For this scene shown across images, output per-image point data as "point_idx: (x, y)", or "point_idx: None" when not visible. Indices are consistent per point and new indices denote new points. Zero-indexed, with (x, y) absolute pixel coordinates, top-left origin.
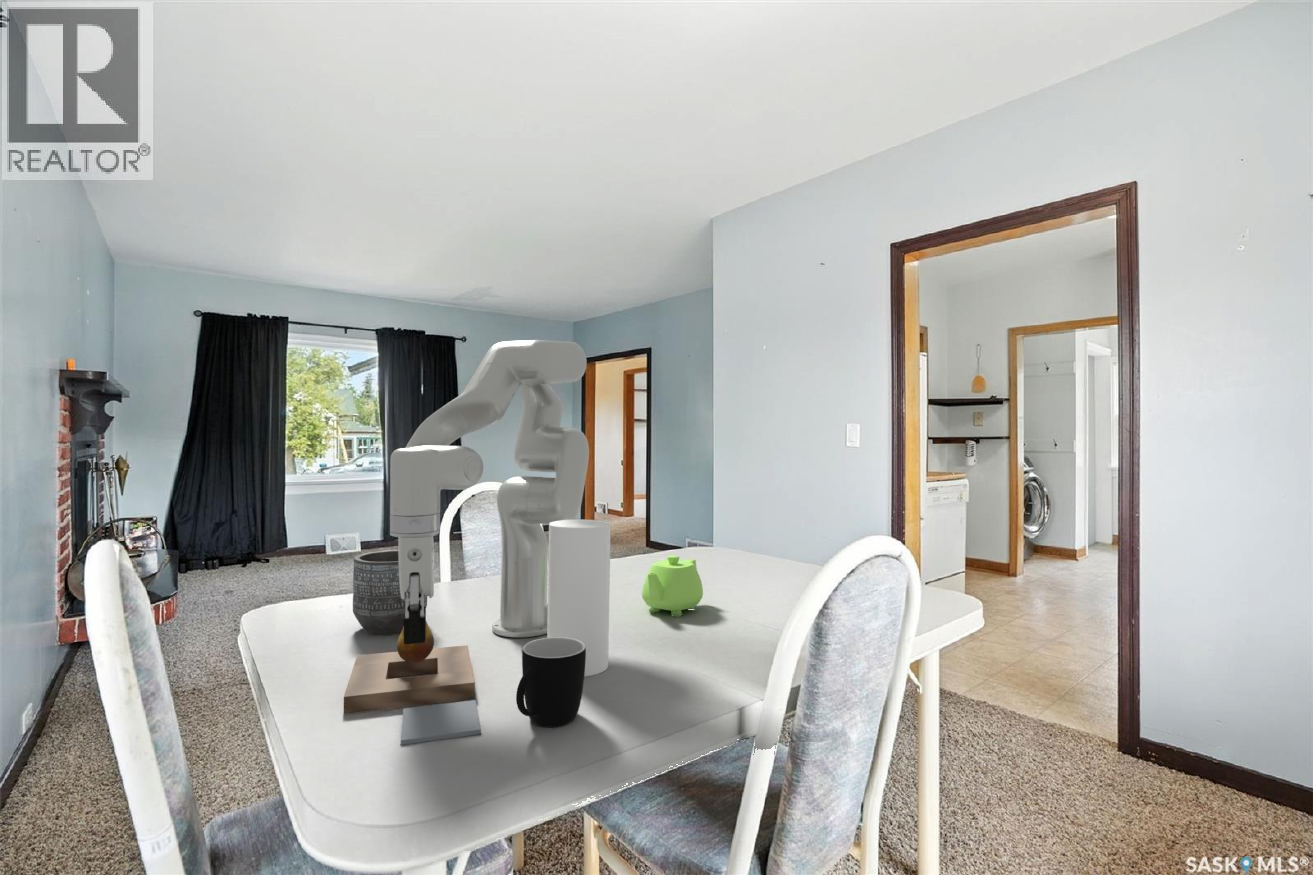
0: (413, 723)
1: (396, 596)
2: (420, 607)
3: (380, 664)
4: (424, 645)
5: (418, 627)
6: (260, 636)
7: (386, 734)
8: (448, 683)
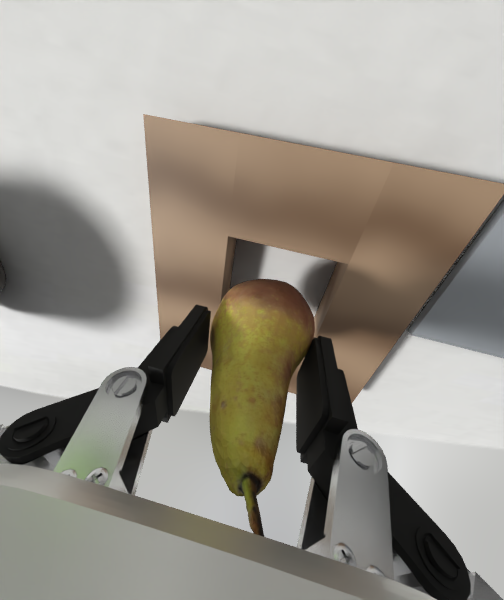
0: (499, 338)
1: None
2: (457, 566)
3: None
4: (314, 324)
5: (348, 405)
6: (35, 386)
7: (472, 366)
8: (441, 259)
